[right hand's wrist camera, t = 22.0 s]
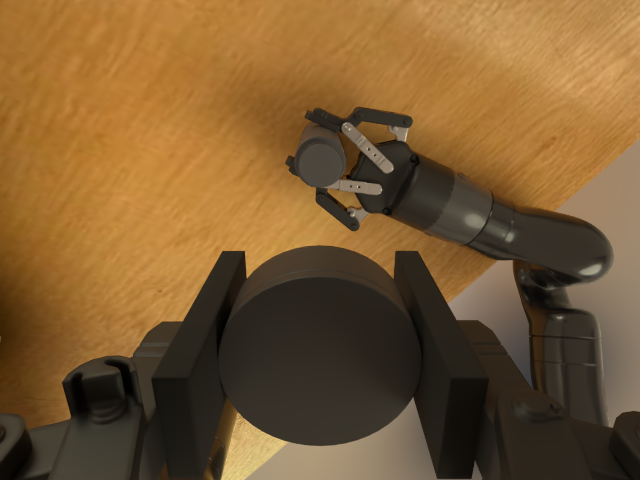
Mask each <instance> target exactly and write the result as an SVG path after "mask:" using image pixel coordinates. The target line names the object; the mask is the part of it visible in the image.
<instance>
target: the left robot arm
mask: <svg viewBox="0 0 640 480" xmlns="http://www.w3.org/2000/svg"><path fill="white" fill-rule="evenodd" d="M305 118H306V119H308V120H310V121H313V122H315V123H317V124H319V125H321V126H323V127H325V128H328V129H330V130H332V131H334V132H336V133H338V131H339V132H341V133H343V134H345V135H346V136H347V137H348V138H349V139H350V140H351V141H352V142H353V143H354V144H355V145H356V146H357V147H358V148H359V149H360V150H361V151H360V153H359V155H358V160H357V164H356V165H355V166H354V167H353V168H352V170H351V172H350V174H345V173H343V175H342V176H341V178H340V179H339V180H338V181H337V182H336V183H334V184H332V185H330V186H328V187H322V188H319V187H316V202H317V203H318V204H319V205H320V206H321V207H323V208H324V209H325V210H326V211H327V212H329V213H330V214H331V215H332V216H334V217H335V218H336V219H337V220H339V221H340V222H341V223H342V224H344V225H345V226H346V227H347V228H349V229H350V230H351V231H357V230H358V229H359V226H360V225H359V223H360V222H361V221H362V220H363V219H364V218H365V217H366V216H367V214H368V213H380V214H384V215H386V216H388V217H390V218H393V219H395V220H397V221H399V222H402V223H404V224H406V225H409V226H411V227H413V228H415V229H418V230H420V231H422V232H424V233H425V234H426V235H429V236H433V237H436V238H438V239H441V240H444V241H447V242H451V243H454V244H457V245H459V246H462V247H464V248H466V249H468V250H471V251H473V252H475V253H477V254H480V255H482V256H484V257H487V258H490V259H494V260H513V273H514V277H515V281H516V285H517V288H518V291H519V294H520V298H521V302H522V305H523V308H524V311H525V313H526V316H527V319H528V323H529V336H531V337H529V348H530V371H531V380H532V385H533V390H536V391H540V392H542V393H544V394H546V395H548V396H550V397H552V398H553V399H554V400H555V401H557V402H558V403H559V404H560V405H562V406H563V408H564V409H565V411H566V412H567V414H568V415H569V417H570V418H574V419H577V420H580V421H584V422H589V423H593V424H597V425H602V426H606V427H610V422H609V417H608V411H607V405H606V397H605V387H604V374H603V360H602V347H601V341H599V340H601V333H600V326H599V321H598V319H597V317H596V316H595V315H594V314H593V313H591V312H590V311H587V310H584V309H580V308H574V307H573V306H572V305H571V302H570V300H569V297H568V295H567V292H566V287H568V286H577V285H585V284H590V283H593V282H596V281H598V280H600V279H601V278H603V277H604V276H605V275H606V274H607V273H608V272H609V270H610V268H611V267H612V264H613V259H614V256H613V249H612V246H611V244H610V242H609V240H608V239H607V238H606V236H605V235H604V234H603V233H602V232H601V231H600V230H599V229H598V228H596V227H595V226H593V225H592V224H590V223H588V222H586V221H584V220H581V219H579V218H576V217H573V216H570V215H565V214H561V213H557V212H553V211H549V210H545V209H541V208H535V207H529V206H524V205H520V204H518V203H516V202H514V201H512V200H510V199H508V198H506V197H504V196H501V195H499V194H497V193H495V192H493V191H491V190H489V189H487V188H485V187H484V186H482V185H481V184H479V183H478V182H476V181H475V180H473V179H471V178H469V177H467V176H465V175H464V174H462V173H459V172H456V171H454V170H452V169H450V168H448V167H446V166H444V165H442V164H439V163H437V162H435V161H433V160H431V159H429V158H427V157H425V156H423V155H421V154H418V153H416V152H414V151H412V150H411V149H410V147H409V146H408V144H407V143H406V137H407V133H408V128H409V127H410V126H411V125H412V123H413V120H412V118H411V117H410V116H408V115H405V114H400V113H394V112H388V111H382V110H376V109H369V108H363V107H356V108H355V109H354V110H353V112H352V113H351V114H350V115H349V116H348V117H347V118H340V117H337V116H335V115H333V114H331V113H329V112H327V111H325V110H323V109H321V108H315V109H314V111H313V112H311V111H309V110H307V113H306V115H305ZM362 121H364V122H371V123H377V124H383V125H388V126H387V128H388V131H389V132H391V133H393V134H395V136H396V140H391V141H386V142H381V143H377V144H372V143H371V142H370V141H369V140H368V139H367V138H366V137H365V136H364V135H363V134H362V133H361V132H360V131H359V130H358V129H357V128H356V127H357V126H358V125H359V124H360V123H361V122H362ZM294 160H295V157H292V156H288V158H287V161H286V163H285V164H286V165H288V166H290V168H289V171H290V172H291V173H292V174H294V175H296V176H298V174H297V172H296V169H295V163H294ZM298 177H299V176H298ZM328 188H329V189H337V190H340V191H347V192H354V193H355V195H356V197H357V198H358V200H359V202H360V204H361V205H362V206H361V207H359V208H356V207H354V206H349V207H347V208H346V207H345V206H344V205H342V204H341V203H340V202H339V201H338V200H336V199H335V198H334V197H333V196H331V195H330V194H329V193H328V192H327V189H328ZM237 412H238V411H237V410H236V409H235V408H234V406H233V405H232V404H231V402H230V401H229V399H228V397H227V398H226V402H225V405H224V409H223V412H222V415H221V419H220V422H219V426H218V429H217V433H216V436H215V439H214V443H213V446H212V450H211V453H210V457H209V460H208V463H207V467H206V470H205V474H204V477H203V479H169V477H168V471H167V466H166V461H165V464H164V466H163V468H162V471H161V473H160V476H159V478H158V480H221V478H222V473H223V469H224V465H225V461H226V457H227V453H228V449H229V445H230V441H231V436H232V432H233V428H234V424H235V420H236V416H237Z"/></svg>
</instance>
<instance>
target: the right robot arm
mask: <svg viewBox="0 0 640 480" xmlns="http://www.w3.org/2000/svg"><path fill="white" fill-rule="evenodd" d="M246 279H247V277H246V263H245V251H222V253H221V255H220V257H219V258H218V260H217V262H216V264H215V266H214V267H213V269H212V271H211V273H210V274H209V276H208V278H207V280H206V282H205V283H204V285H203V287H202V289H201V290H200V292H199V294H198V296H197V298H196V299H195V301H194V303H193V305H192V306H191V308H190V310H189V312H188V313H187V315H186V317H185V319H184V321H183V322H161V323H160V324H159V325H157V326H156V327H154V328H153V329H152V330H150V331H149V332H148V333H147V334H146V336H145V337H144V339H143V340H142V342H141V343H140V347H138V348H137V349H136V351H135V352H134V354H133V357H131V358H127V357H123V356H105V357H101V358H97V359H93V360H91V361H89V362H86V363H84V364H82V365H80V366H78V367H77V368H76V369H74V370H73V371H71V372H70V373H69V374H68V375H67V376H66V378H65V379H64V380H63V382H62V384H63V388H64V392H65V395H66V399H67V403H68V406H69V410H70V414H71V418H70V419H69V420H66V421H62V422H59V423H55V424H50V425H46V426H42V427H37V428H33V429H29V430H28V428H27V425H26V422H25V420H24V419H23V418H22V417H21V416H20V415H18V414H12V413H2V414H0V480H158V478H159V476H160V473H161V471H162V468H163V466H164V464H165V461H166V466H167V471H168V477H169V479H203V477H204V474H205V470H206V467H207V463H208V460H209V457H210V453H211V450H212V446H213V443H214V439H215V436H216V433H217V429H218V426H219V422H220V419H221V415H222V412H223V409H224V405H225V402H226V398H227V396H226V394H225V392H224V390H223V387H222V384H221V381H220V377H219V368H218V348H219V343H220V340H221V336H222V333H223V331H224V328H225V326H226V323H227V320H228V318H229V315H230V313H231V310H232V307H233V305H234V302H235V299H236V297H237V295H238V293H239V291H240V288H241V287H242V285H243V284H244V282H245V281H246ZM394 281H395V282H396V284H397V285H398V287H399V289H400V291H401V293H402V295H403V297H404V300H405V302H406V305H407V307H408V310H409V313H410V315H411V318H412V321H413V323H414V326H415V328H416V331H417V334H418V337H419V340H420V343H421V348H422V356H423V358H422V370H421V378H420V381H419V384H418V387H417V390H416V392H415V394H414V396H413V397H414V401H415V404H416V408H417V411H418V415H419V418H420V421H421V425H422V428H423V432H424V435H425V439H426V442H427V445H428V449H429V452H430V456H431V459H432V463H433V466H434V469H435V473H436V476H437V479H471V478H472V473H473V467H474V462H475V461H476V463H477V466H478V468H479V471H480V473H481V476H482V480H640V412H637V411H631V412H625V413H622V414H620V415H619V416H618V417H617V418H616V420H615V423H614V426H613V428H611V427H606V426H602V425H597V424H593V423H589V422H584V421H580V420H577V419H574V418H570V417H569V415H568V414H567V412H566V411H565V409H564V408H563V406H562V405H560V404H559V403H558V402H557V401H555V400H554V399H553V398H552V397H550V396H548V395H546V394H544V393H542V392H540V391H536V390H533V389H532V388H531V387H530V385H529V384H528V382H527V381H526V379H525V378H524V376H523V375H522V373H521V372H520V371H519V369H518V368H517V366H516V365H515V363H514V362H513V360H512V359H511V357H510V356H509V355H507V352H506V350H505V349H504V347H503V346H502V345H501V343H500V341H499V340H498V338H497V337H496V335H495V334H494V332H493V331H492V330H491V329H489V328H488V327H486V326H485V325H484V324H482V323H481V322H480V321H478V320H456V318H455V317H454V315H453V313H452V311H451V309H450V308H449V306H448V304H447V302H446V301H445V299H444V297H443V295H442V293H441V292H440V290H439V288H438V286H437V285H436V283H435V281H434V279H433V277H432V276H431V274H430V272H429V270H428V269H427V267H426V265H425V263H424V261H423V260H422V258H421V256H420V254H419V253H418V251H396V252H395V266H394Z"/></svg>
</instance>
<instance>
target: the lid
mask: <svg viewBox="0 0 640 480" xmlns="http://www.w3.org/2000/svg"><path fill="white" fill-rule="evenodd" d="M422 358H423V356H422V348H421V343H420V340H419V337H418V334H417V331H416V328H415V326H414V323H413V321H412V318H411V315H410V313H409V310H408V307H407V305H406V302H405V300H404V297H403V295H402V293H401V291H400V289H399V287H398V285H397V284H396V282H395V281H394V280H393V278H392V277H391V276H390V275H389V274H388V273H387V272H386V271H385V270H384V269H383V268H382V267H381V266H379V265H378V264H377V263H376V262H374V261H372V260H371V259H369V258H367V257H366V256H363V255H361V254H359V253H357V252H354V251H351V250H348V249H344V248H339V247H334V246H320V245H319V246H306V247H301V248H295V249H292V250H289V251H286V252H283V253H281V254H279V255H277V256H274V257H272V258H271V259H269V260H268V261H266V262H265V263H263V264H262V265H261V266H259V267H258V268H257V269H256V270H255V271H254V272H253V273H252V274H251V275H250V276H249V277H248V278H247V279H246V281H245V282H244V284H243V285H242V287H241V288H240V291H239V293H238V295H237V297H236V299H235V302H234V305H233V307H232V310H231V313H230V315H229V318H228V320H227V323H226V326H225V328H224V331H223V333H222V336H221V340H220V343H219V348H218V368H219V377H220V381H221V384H222V387H223V390H224V392H225V394H226V396H227V397H228V399H229V401H230V402H231V404H232V405H233V406H234V408H235V409H236V410H237V411H238V412H239V413H240V414H241V416H242V417H243V418H245V419H246V420H247V421H248V422H249V423H251V424H252V425H253V426H255V427H256V428H258V429H260V430H261V431H263V432H265V433H267V434H269V435H271V436H273V437H276V438H279V439H281V440H284V441H288V442H292V443H296V444H302V445H312V446H327V445H338V444H344V443H348V442H352V441H356V440H359V439H361V438H364V437H367V436H369V435H371V434H373V433H375V432H377V431H379V430H380V429H382V428H383V427H385V426H386V425H388V424H389V423H390V422H392V421H393V420H394V419H395V418H397V417H398V416H399V414H400V413H401V412H402V411H403V410H404V409H405V408H406V406H407V405H408V404H409V402H410V401H411V399H412V397H413V396H414V394H415V392H416V390H417V387H418V384H419V381H420V378H421V370H422Z"/></svg>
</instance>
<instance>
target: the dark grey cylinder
mask: <svg viewBox="0 0 640 480" xmlns="http://www.w3.org/2000/svg"><path fill="white" fill-rule="evenodd" d="M294 163H295V169H296V172H297V174H298V176H299V177H300V178H301V179H302V181H304V182H305V183H306V184H307V185H309V186H311V187H319V188H322V187H328V186H330V185H332V184H334V183H336V182H337V181H338V180H339V179H340V178H341V176H342V175H343V173H344V170H345V166H346V157H345V153H344V150H343V147H342V144H341V141H340V138H339V135H338V133H336V132H334V131H332V130H330V129H328V128H325V127H323V126H321V125H319V124H317V123H315V122H311V123H310V124H308V125H307V126H306V127H305V129H304V130H303V133H302V136H301V139H300V142H299V145H298V148H297V151H296V155H295V160H294Z"/></svg>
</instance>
